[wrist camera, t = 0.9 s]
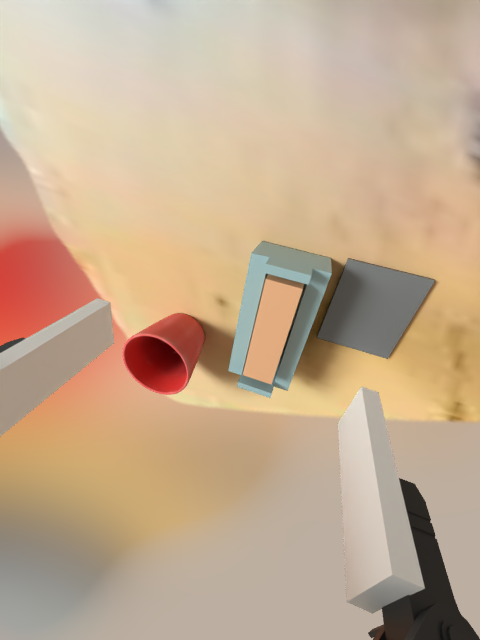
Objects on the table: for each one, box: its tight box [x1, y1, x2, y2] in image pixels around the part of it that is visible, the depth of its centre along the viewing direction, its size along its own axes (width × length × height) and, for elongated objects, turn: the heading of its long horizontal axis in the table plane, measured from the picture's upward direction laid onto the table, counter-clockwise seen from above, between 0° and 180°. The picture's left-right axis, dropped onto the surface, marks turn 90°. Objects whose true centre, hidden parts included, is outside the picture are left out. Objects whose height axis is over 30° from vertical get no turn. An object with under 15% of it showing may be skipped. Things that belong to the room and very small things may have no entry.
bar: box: [243, 274, 304, 385], centre depth 33 cm, size 14×4×4 cm, turn 170°
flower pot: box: [123, 313, 205, 395], centre depth 41 cm, size 11×11×10 cm
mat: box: [317, 258, 435, 359], centre depth 35 cm, size 12×10×1 cm
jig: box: [228, 241, 332, 398], centre depth 35 cm, size 18×9×9 cm, turn 170°
